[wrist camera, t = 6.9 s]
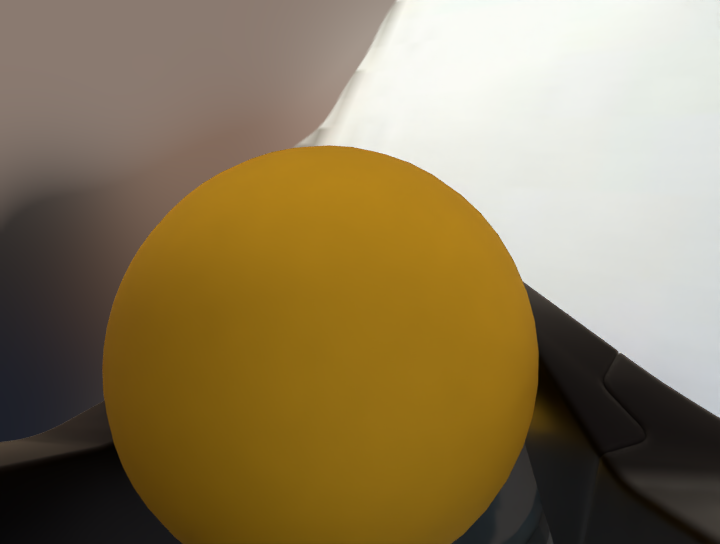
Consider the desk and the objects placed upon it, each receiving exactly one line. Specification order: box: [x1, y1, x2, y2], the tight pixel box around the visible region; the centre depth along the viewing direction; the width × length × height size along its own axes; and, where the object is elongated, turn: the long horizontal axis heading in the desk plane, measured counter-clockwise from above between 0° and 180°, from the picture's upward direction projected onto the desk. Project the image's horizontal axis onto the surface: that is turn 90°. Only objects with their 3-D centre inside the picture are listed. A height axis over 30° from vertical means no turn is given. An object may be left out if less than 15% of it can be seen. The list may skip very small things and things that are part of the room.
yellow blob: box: [103, 146, 539, 544], centre depth 9 cm, size 6×6×14 cm
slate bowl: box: [451, 442, 553, 544], centre depth 17 cm, size 13×13×4 cm
